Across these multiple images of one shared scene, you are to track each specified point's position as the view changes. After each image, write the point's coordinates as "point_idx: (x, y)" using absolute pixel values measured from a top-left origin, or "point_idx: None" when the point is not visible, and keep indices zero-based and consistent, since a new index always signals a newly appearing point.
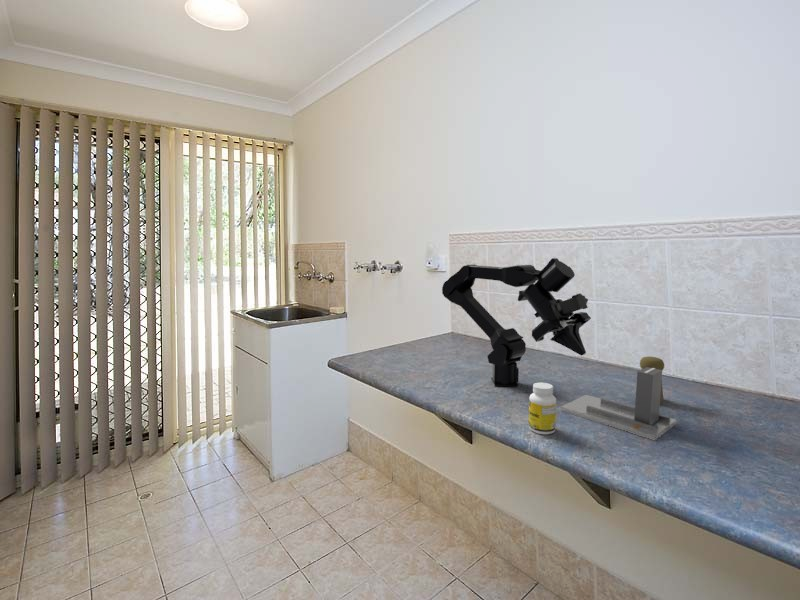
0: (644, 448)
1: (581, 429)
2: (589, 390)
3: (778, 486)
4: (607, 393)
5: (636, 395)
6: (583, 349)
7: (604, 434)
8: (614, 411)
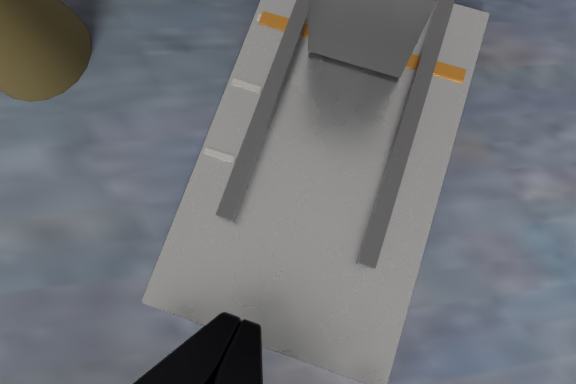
0: (569, 50)
1: (545, 264)
2: (11, 303)
3: None
4: (23, 217)
5: (433, 6)
6: (225, 346)
7: (536, 177)
8: (313, 157)
